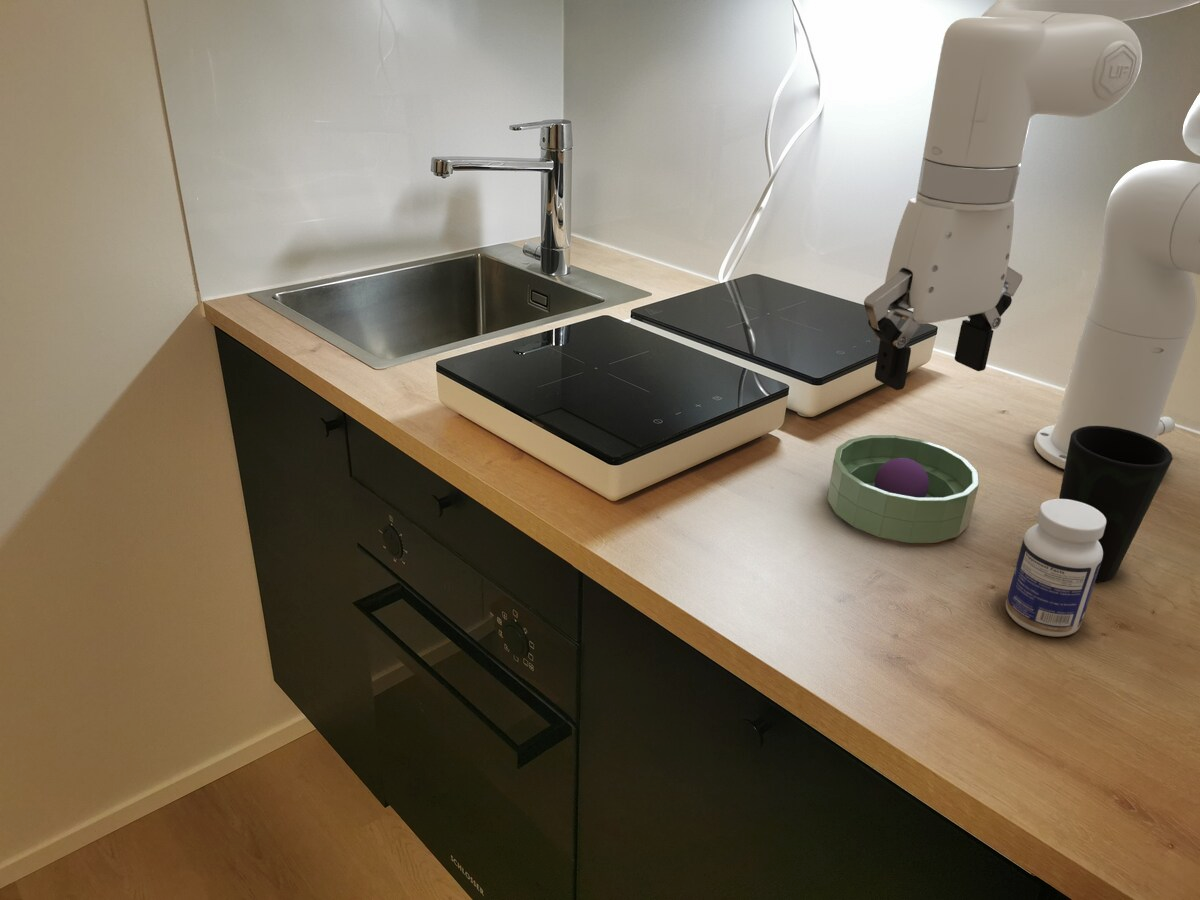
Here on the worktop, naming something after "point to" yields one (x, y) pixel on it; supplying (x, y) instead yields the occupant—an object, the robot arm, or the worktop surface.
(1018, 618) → the pill bottle
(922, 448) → the bowl
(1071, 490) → the cup
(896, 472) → the ball
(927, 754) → the worktop surface
